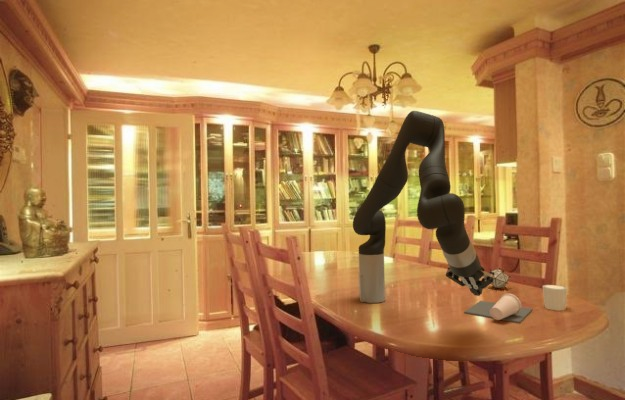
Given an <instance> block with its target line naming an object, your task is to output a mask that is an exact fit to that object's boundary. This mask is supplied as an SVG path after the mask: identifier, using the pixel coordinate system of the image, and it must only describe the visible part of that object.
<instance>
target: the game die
mask: <svg viewBox="0 0 625 400" xmlns="http://www.w3.org/2000/svg"><path fill="white" fill-rule="evenodd" d="M489 272H494V273H495V275H494V279H493V282H492V283H491V284H490V285H491V287H492V288H493V287H494V288H495V290H496V291H497V290H498V289H500V288H504V289H507V287H506V286H507V284H509V282H508V281H509V278H511V277H512V276H511V275H508V274H506V273H505V270H504V269H503V270H502V269H501V267H499V268H498V269H491V268H489Z"/></svg>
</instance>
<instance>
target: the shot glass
mask: <svg viewBox="0 0 625 400" xmlns="http://www.w3.org/2000/svg"><path fill="white" fill-rule="evenodd" d="M542 292H543V293H542V294H543V301H544V307H545V309H547V310H551V311H559V312H563V311H566V308H567V307H566V306H567V297H568V296H567V294H568V293H567V292H568V288H567V287H566V286H562V285H558V284H544V285H542Z"/></svg>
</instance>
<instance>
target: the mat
mask: <svg viewBox="0 0 625 400" xmlns="http://www.w3.org/2000/svg"><path fill="white" fill-rule="evenodd" d="M496 303H497V302H492V301H487V300H486V301H485V300H480V301H478V302H476V303H475V304H473V305H471V306H470V307H469V308H467V309H466V310H464V311H463V313H464V314H466V315H471V316H477V317H483V318H489V319H494V318H493V317H492V316H491V314H490V310H491V308H492V307H493V306H494V305H495V304H496ZM532 311H533V308H531V307H530V308H529V307H524V306H522V308H521V310H520V312H519V313H517V314H514V315H510V316H508V317H505V318H503V319H500V320H501V321H504V322H511V323H515V324H521V323H522V322H523V321H524V320H525V319H526V318H527V317H528V316H529V314H530V313H532ZM494 320H495V319H494ZM500 320H499V321H500Z"/></svg>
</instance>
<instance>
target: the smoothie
mask: <svg viewBox="0 0 625 400" xmlns="http://www.w3.org/2000/svg"><path fill="white" fill-rule="evenodd" d="M495 303H496V304H495V305H494V306H493V307H492V308H491V310H490V314H491V316H492V317H493V318H494V320H496V321H500V319H503V318H505V317H508V316H510V315H514V314H517V313H519V312H520V310H521V308H522V307H523V306H522V302H521V300H520V298H518V296H516V295H515V294H513V293H504V294H502V295H501V296H500V297H499V299H498V300H497V302H495ZM493 318H492V319H493Z"/></svg>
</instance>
